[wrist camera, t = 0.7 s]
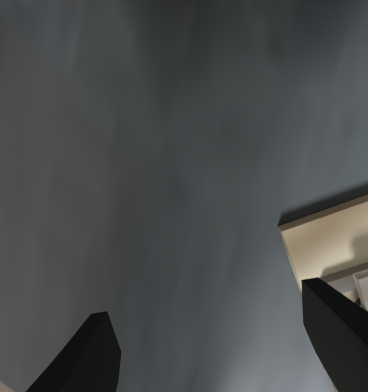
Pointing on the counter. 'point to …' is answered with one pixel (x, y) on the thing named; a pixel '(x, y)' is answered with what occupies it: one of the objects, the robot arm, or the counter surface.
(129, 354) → the counter surface
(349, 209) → the hole gauge board
